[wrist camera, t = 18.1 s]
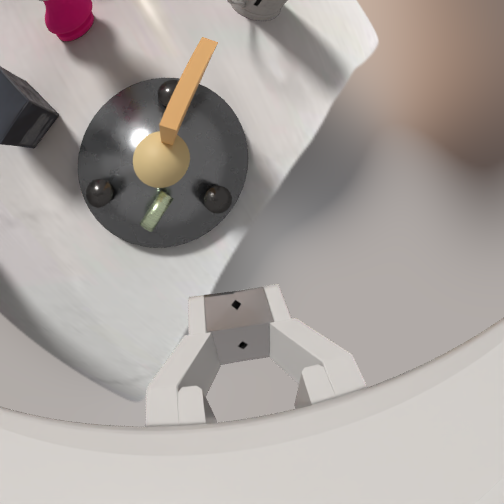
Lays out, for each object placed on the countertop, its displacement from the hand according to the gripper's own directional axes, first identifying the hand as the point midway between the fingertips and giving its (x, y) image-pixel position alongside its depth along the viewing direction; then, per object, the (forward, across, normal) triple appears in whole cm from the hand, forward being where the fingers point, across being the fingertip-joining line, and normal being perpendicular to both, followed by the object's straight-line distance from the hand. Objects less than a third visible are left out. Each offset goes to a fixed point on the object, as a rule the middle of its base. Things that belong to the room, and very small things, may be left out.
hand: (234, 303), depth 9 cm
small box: (+31, -26, +10) cm, 42 cm away
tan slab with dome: (+29, -5, +2) cm, 29 cm away
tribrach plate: (+30, -6, -2) cm, 31 cm away
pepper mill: (+36, -19, +23) cm, 47 cm away
